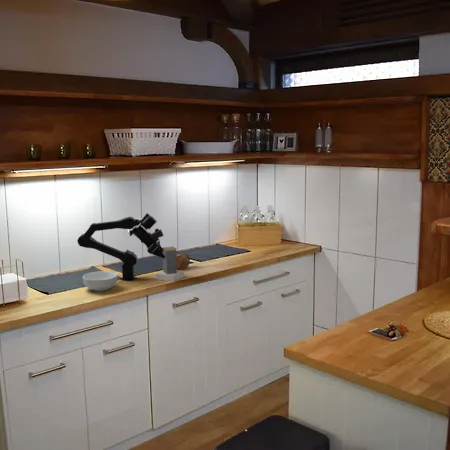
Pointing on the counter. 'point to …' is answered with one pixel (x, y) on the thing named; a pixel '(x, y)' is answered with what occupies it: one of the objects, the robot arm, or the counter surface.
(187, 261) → the mottled brown rounded slab
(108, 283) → the cereal bowl
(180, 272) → the stand
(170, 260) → the block
